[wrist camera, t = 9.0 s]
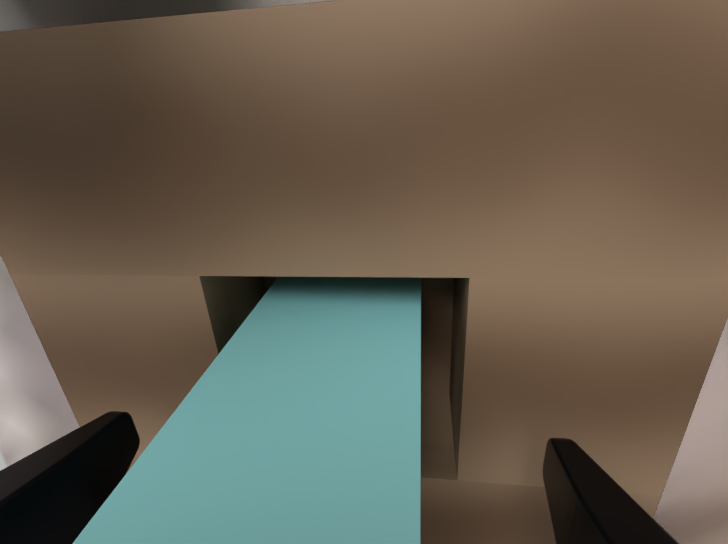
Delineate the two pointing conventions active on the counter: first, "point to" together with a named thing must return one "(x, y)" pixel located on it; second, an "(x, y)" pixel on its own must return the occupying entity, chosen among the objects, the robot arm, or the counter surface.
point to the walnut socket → (390, 216)
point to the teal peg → (290, 429)
